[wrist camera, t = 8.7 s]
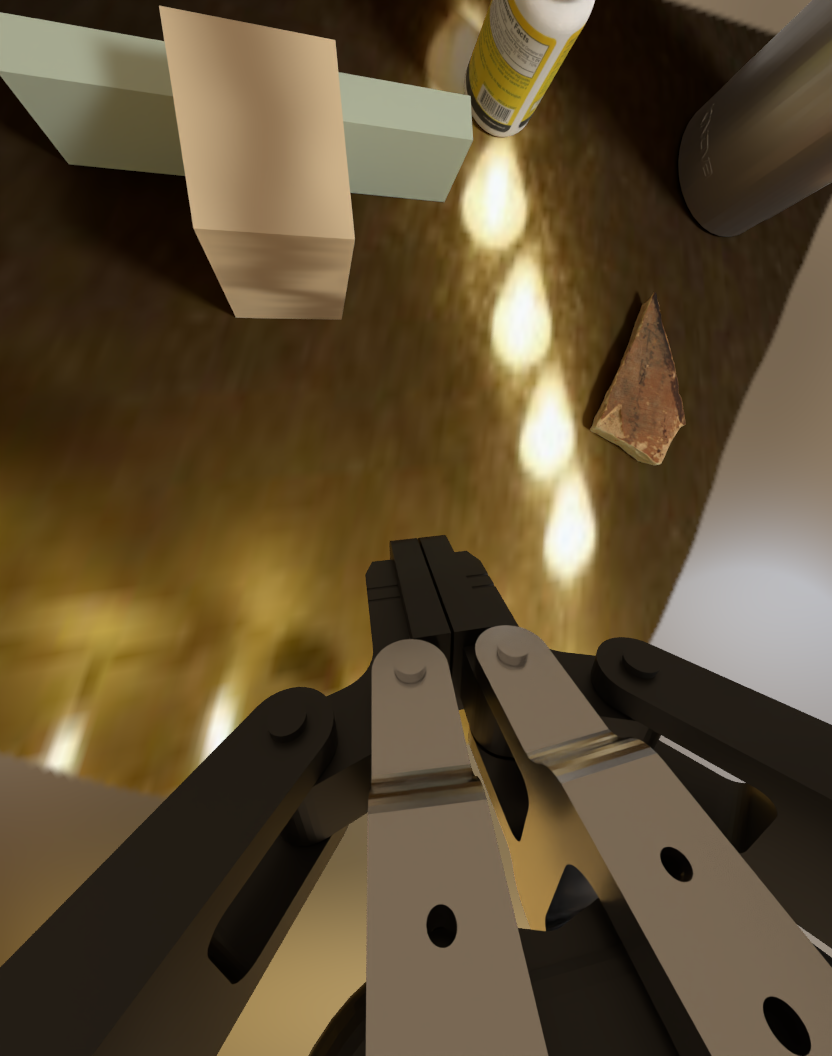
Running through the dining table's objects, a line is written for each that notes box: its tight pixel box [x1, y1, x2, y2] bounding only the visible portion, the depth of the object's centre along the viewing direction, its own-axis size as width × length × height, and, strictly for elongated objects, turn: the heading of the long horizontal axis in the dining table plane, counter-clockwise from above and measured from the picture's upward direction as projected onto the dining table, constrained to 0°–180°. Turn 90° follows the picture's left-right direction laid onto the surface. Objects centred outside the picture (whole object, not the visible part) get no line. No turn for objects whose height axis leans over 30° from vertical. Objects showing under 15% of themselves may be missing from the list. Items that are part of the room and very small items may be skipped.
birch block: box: [159, 6, 355, 319], centre depth 18 cm, size 6×7×8 cm
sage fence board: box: [0, 13, 473, 202], centre depth 19 cm, size 20×2×4 cm, turn 96°
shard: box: [590, 292, 686, 465], centre depth 29 cm, size 11×8×2 cm
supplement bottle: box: [464, 0, 595, 137], centre depth 20 cm, size 5×5×8 cm
